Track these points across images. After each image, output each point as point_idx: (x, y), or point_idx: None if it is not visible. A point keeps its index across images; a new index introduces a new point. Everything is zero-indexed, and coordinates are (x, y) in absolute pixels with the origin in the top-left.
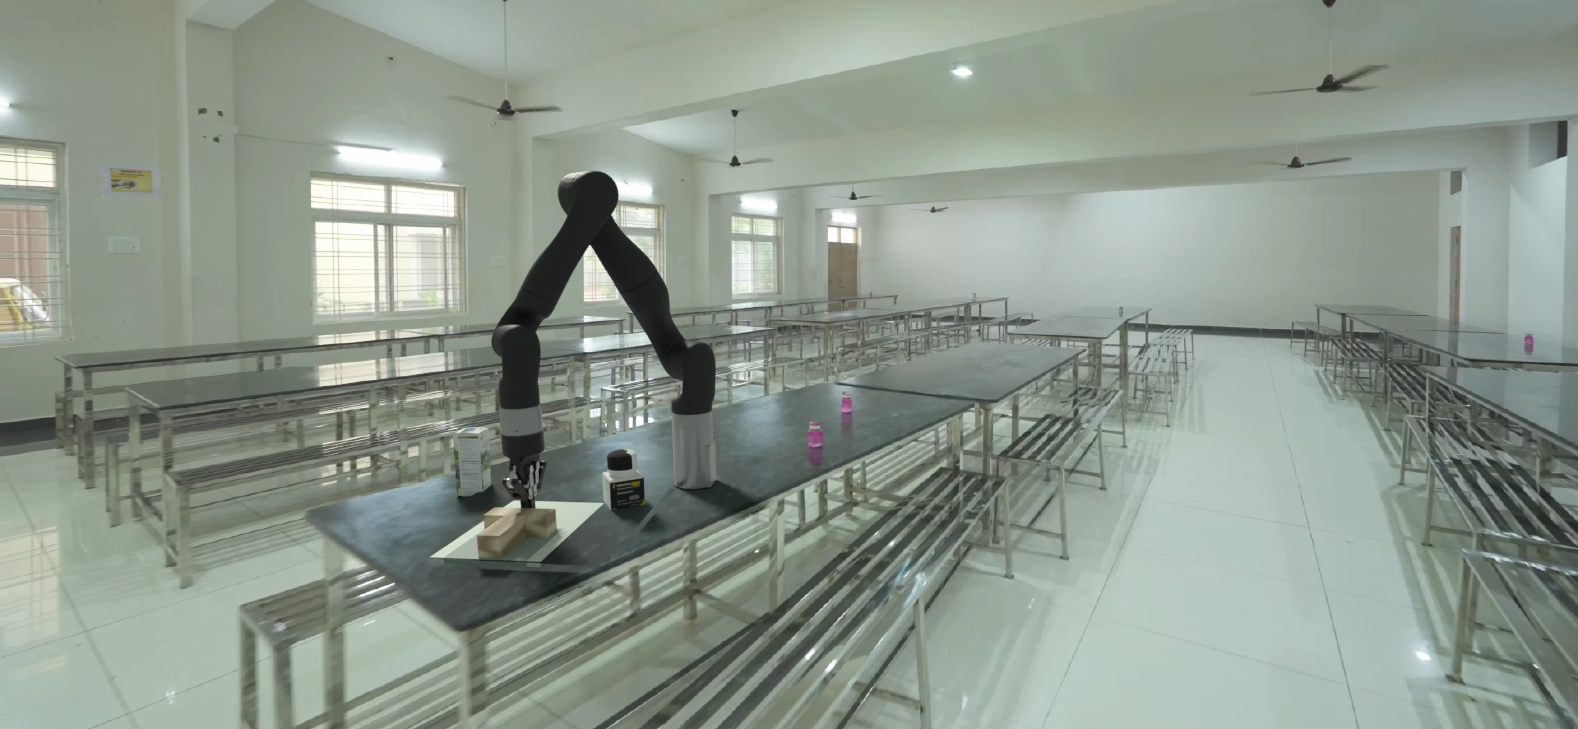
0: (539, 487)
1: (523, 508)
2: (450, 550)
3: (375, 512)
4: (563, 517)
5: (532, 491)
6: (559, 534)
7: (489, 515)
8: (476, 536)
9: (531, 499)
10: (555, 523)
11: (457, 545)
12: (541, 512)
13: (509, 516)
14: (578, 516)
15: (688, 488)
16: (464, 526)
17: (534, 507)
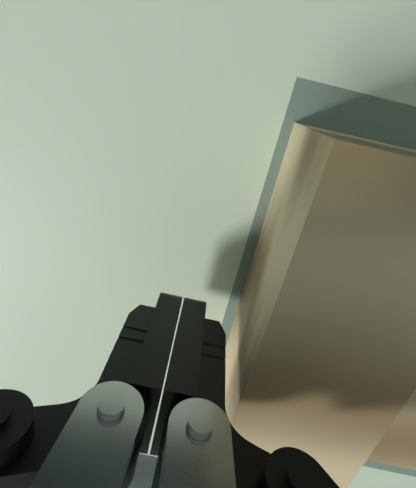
0: (8, 417)
1: (252, 389)
2: (411, 484)
3: None
4: (91, 123)
5: (132, 451)
6: (403, 78)
7: None
8: None
9: (192, 393)
10: (318, 129)
11: (368, 475)
12: (398, 253)
13: (397, 435)
14: (68, 6)
15: None
16: (137, 474)
17: (165, 324)
